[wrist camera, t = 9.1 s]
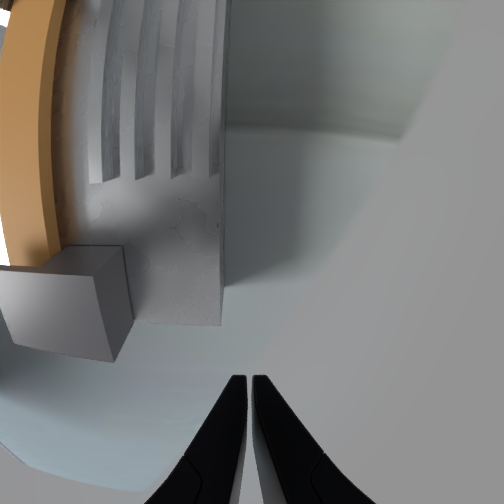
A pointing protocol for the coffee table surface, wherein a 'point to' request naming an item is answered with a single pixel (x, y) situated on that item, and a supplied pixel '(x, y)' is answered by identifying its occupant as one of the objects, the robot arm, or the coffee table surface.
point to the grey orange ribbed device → (144, 146)
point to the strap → (28, 132)
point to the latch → (69, 303)
